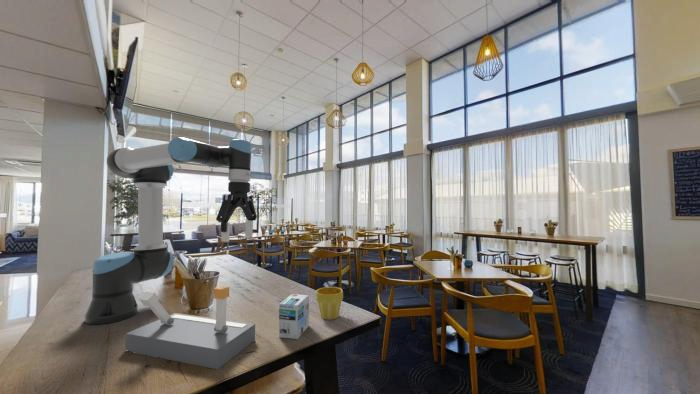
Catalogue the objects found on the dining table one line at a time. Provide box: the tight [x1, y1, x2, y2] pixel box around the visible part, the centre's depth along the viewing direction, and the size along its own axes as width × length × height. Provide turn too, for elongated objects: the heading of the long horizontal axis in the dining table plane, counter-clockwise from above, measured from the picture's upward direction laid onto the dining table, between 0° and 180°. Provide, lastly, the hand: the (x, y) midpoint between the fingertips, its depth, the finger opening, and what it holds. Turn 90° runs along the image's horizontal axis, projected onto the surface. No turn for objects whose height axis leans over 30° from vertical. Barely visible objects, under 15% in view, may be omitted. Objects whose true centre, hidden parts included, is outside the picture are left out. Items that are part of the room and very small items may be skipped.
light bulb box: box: [278, 293, 310, 340], centre depth 92 cm, size 11×7×11 cm, turn 168°
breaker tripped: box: [213, 285, 230, 333], centre depth 80 cm, size 3×3×13 cm
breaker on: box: [138, 291, 174, 324], centre depth 83 cm, size 3×3×13 cm
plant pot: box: [315, 286, 344, 320], centre depth 105 cm, size 10×10×10 cm
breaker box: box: [125, 312, 256, 370], centre depth 83 cm, size 32×16×5 cm, turn 74°
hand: (237, 239), depth 101 cm, fingers open, 13 cm apart
